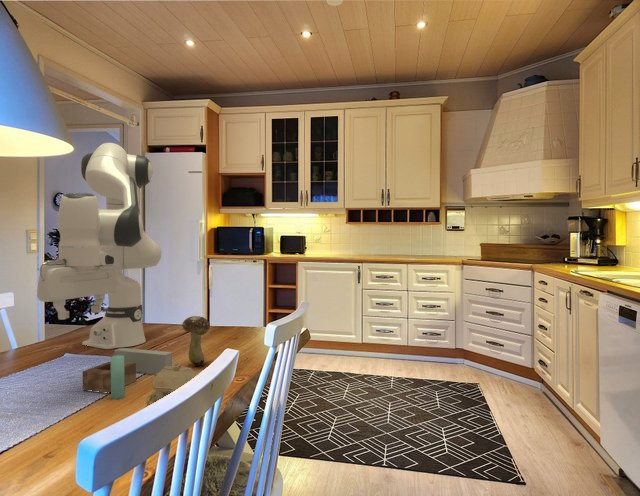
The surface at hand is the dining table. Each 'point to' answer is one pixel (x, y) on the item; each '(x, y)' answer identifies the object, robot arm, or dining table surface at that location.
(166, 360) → the wall
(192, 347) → the mushroom
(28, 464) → the dining table surface
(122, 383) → the green rectangular block
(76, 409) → the dining table surface
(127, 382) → the open box
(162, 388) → the ceramic model
